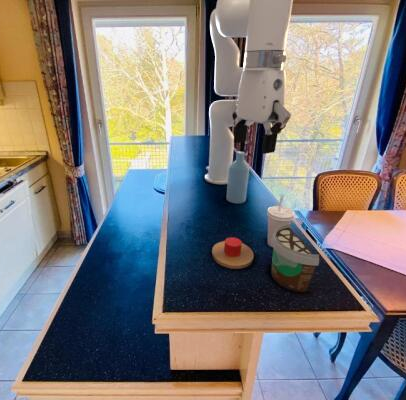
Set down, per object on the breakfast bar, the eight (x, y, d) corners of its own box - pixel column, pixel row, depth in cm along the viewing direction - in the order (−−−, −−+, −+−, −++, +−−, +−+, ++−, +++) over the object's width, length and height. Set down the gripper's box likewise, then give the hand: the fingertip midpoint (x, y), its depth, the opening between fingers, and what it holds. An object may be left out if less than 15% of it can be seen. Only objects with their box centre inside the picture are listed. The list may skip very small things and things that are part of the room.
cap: (243, 254, 64) (245, 243, 63) (231, 259, 62) (232, 248, 61) (233, 245, 67) (234, 235, 66) (220, 250, 65) (221, 239, 64)
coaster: (204, 250, 67) (204, 246, 67) (236, 240, 71) (236, 236, 71) (227, 274, 59) (228, 270, 59) (262, 261, 63) (262, 257, 62)
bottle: (222, 197, 96) (226, 151, 88) (237, 193, 98) (242, 149, 91) (234, 204, 90) (238, 156, 83) (249, 200, 93) (255, 153, 86)
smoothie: (257, 240, 71) (264, 192, 65) (276, 235, 73) (284, 188, 67) (273, 253, 66) (282, 203, 60) (293, 247, 68) (304, 198, 62)
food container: (257, 259, 63) (263, 223, 59) (282, 258, 64) (289, 222, 60) (279, 299, 52) (288, 258, 48) (309, 297, 53) (321, 256, 48)
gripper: (313, 61, 47) (295, 155, 54) (249, 63, 61) (242, 137, 68) (281, 61, 44) (266, 160, 52) (222, 63, 58) (217, 140, 66)
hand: (252, 147), depth 60 cm, fingers open, 9 cm apart
